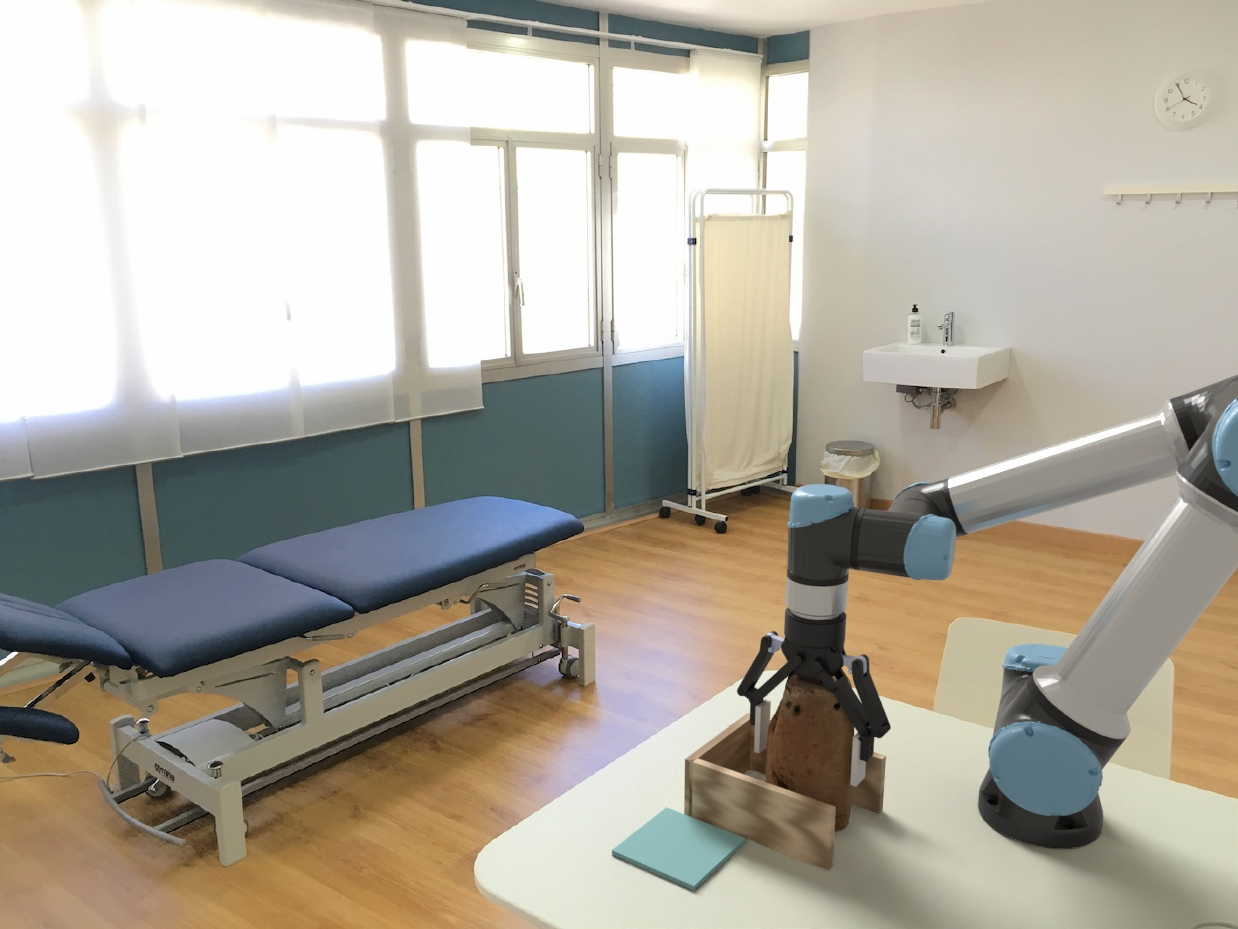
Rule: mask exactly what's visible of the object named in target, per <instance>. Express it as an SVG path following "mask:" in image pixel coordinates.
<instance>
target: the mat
mask: <svg viewBox="0 0 1238 929" xmlns="http://www.w3.org/2000/svg"><path fill="white" fill-rule="evenodd" d="M745 844H746V838H743V837H741V836H738V835H736V834H733V833H731V832H728V831H726V830H723V829H720V828H718V827H715V826H713V825H710V824H708V823H705V822H703V821H700V820H698V819H695V818H692V817H690V816H687V815H685V814H684V813H682V812H680V811H677V810H675V809H671V808H669V807H665V808H664V809H663V810H661V811H660V812H658V813H657V814H656V815H655V816H654V817H652V818H651V819H649V820H648V821H647V822H646V823H645V824H643V825H642V826H641V827H639V828H638V829H637V830H635V831H634V832H633V833H632V834H630V835H629V836H628V837H627V838H625V839H624V840H623V841H622V842H620V843H619V844H617V846H615V847H613V849H612V850H611V855H613V856H615V857H617V858H619V859H621V860H624V861H626V862H628V863H631V864H632V865H635V866H637V867H640V868H642V869H644V870H647V871H649V872H651V873H653V874H655V875H657V876H660V877H662V878H664V879H667V880H669V881H672V882H674V883H676V884H678V885H680V886H683V887H685V888H687V889H689V890H692V891H695V890H696V889H697V888H699V886H700V885H702V884H703V883H704V882H705V881H706V880H707V879H708V878H710V876H712V875H713V873H714V872H716V870H718V869H719V868H720V867H721V866H722V865H723V864H724V863H725V862H726V861H727V860H728V859H730V857H731V856H732V855H734V853H736V852H737V851H738V850H739V849H740V848H742V846H744V845H745Z"/></svg>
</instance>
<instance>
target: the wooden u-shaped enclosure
mask: <svg viewBox="0 0 1238 929" xmlns="http://www.w3.org/2000/svg"><path fill="white" fill-rule="evenodd" d="M770 722H771V719H770ZM754 740H755V726H754V725H751V723H750V712H747V713H746V714H744V715H743V716H742V717H740V718H739V719H737V720H736V721H734V723H732V724H730V725H729V726H728V727H727V728H725V729H724V730H723V731H721V732H720V733H718V734H717V735H716V736H714V737H713V738H711V739H710V740H709V741H707V742H706V743H705V744H704V745H702V746H700V748H698V749H697V750H695V751H694V752H693V753H692V754H690V755H689V756H687V757H686V758H684V796H683V797H684V798H683V799H684V804H683V805H684V806H683V809H684V810H683V814H685V815H687V816H690V817H692V818H695V819H698V820H700V821H703V822H705V823H708V824H710V825H713V826H715V827H718V828H720V829H723V830H726V831H728V832H731V833H733V834H736V835H738V836H741V837H743V838H745V840H748V841H751V842H754V843H756V844H759V845H761V846H764V847H766V848H769V849H771V850H773V851H776V852H780V853H781V854H784V855H787V856H789V857H791V858H794V859H797V860H798V861H799V860H800V861H803V862H805V863H807V864H810V865H812V866H814V867H817V868H820V869H823V870H824V871H826V872H827V871H828V872H829V871H830V870H831V869H832V868H833V867H834V853H835V852H834V850H835V833H836V832H835V812H836V807H835V806H832V805H829V804H826V803H824V802H821V801H818V800H815V799H812V798H809V797H807V796H804V795H801V794H798V793H795V792H792V791H789V790H787V789H784V788H781V787H778V786H775V785H772V784H770V783H767V782H765V780H761V779H757V778H755V777H752V776H750V775H747V774H746V773H747V772H749V771H753V772H755V773H757V774H761V775H764V776H765V767H766V748H765V749H764V750H763V751H762V752H760V753H756V752H754ZM886 762H887V755H886V754H882V753H878V752H876V751H874V752H873V756H872V758H871V759H870V760H869V761H867V762H866V768H865V778H864V779H863V780H862V781H861V782H860V783H859V784H858V785H857V786H853V803H852V807H856V808H859V809H862V810H865V811H867V812H870V813H873V814H877V815H881V813H882V812H883V811H884V793H885V781H886V780H885V779H886Z"/></svg>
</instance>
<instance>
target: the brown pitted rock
mask: <svg viewBox="0 0 1238 929" xmlns="http://www.w3.org/2000/svg"><path fill="white" fill-rule="evenodd" d="M832 678H833V679H834V681H835V680H836V678H835V676H833V677H832ZM847 678H848V676H847ZM848 683H849V684H850V686H851V688H852V689H853V686H852V683H851V679H850V678H848ZM775 710H776V711H775V713H774V714H773V715H772V717H771V718H770V720H771V722H770V724H769V727H768V734H767V748H766V767H765V775H764V776H765V778H764V779H765V780H764V782H767V783H770V784H772V785H775V786H778V787H781V788H784V789H787V790H789V791H792V792H795V793H798V794H801V795H804V796H807V797H809V798H812V799H815V800H818V801H821V802H824V803H826V804H829V805H832V806H835V807H836V812H835V832H834V833H836V832H842V831H843V830H846V829H847V827H848V826H849V823H850V819H851V814H852V809H853V808H852V807H853V805H852V803H853V785H850V781H851V764H852V747H853V736H855V727H854V726H853V724H852V723H851V721H850V719H849V718H848V716H847V715H846V713H845V712H844V710H843V708H842V707H841V705H840V704H839V702H838V701H837V699H836V697H835V696H834V694H833V693H832V692H830V691H829V690H828V689H827V687H826V686H825V684H824V683H821V684H817V683H814V682H812V681H810V680H803V679H799V678H798V676H797V675H796V674H795V673H794V672H792V673H791V674H789V676H788V677H787V678H786V682H785V686H784V690H783V693H782V698H781V699H780V702H779V704H778V706H777V708H776V709H775Z"/></svg>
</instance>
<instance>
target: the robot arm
mask: <svg viewBox="0 0 1238 929" xmlns="http://www.w3.org/2000/svg"><path fill="white" fill-rule="evenodd" d="M1174 476H1176V480H1177V484H1178V487H1179V488H1178V490H1179V491H1178V494H1177V495H1176V496H1175V498H1174V500H1173V501H1172V502H1171V504H1169V507H1168V508H1167V509H1166V511H1165V513H1164V514H1163V515H1162V517H1161V518H1160V519H1159V520H1158V522H1157V523H1156V524H1155V526H1154V527H1153V529H1152V530H1151V532H1150V533H1149V534H1148V536H1147V538H1146V539H1145V540H1144V541H1143V543H1142V544H1141V546H1140V547H1139V548H1138V550H1137V551H1136V553H1134V556H1133V557H1132V558H1131V560H1130V561H1129V562H1128V564H1127V565H1126V566H1125V568H1124V570H1123V571H1122V572H1121V574H1120V575H1119V577H1118V578H1117V579H1116V581H1115V582H1114V583H1113V585H1112V586H1111V588H1110V589H1109V591H1107V593H1106V595H1105V596H1104V598H1103V599H1102V600H1101V602H1100V603H1099V605H1098V606H1097V607H1096V609H1095V610H1094V612H1093V613H1092V614H1091V615H1090V617H1089V618H1088V620H1087V621H1086V623H1085V624H1084V625H1083V626H1082V628H1081V630H1079V632H1078V634H1077V635H1076V637H1075V638H1074V639H1073V641H1072V642H1071V644H1070V645H1069V646H1068V647H1064V646H1061V645H1053V644H1044V643H1042V644H1041V643H1025V644H1024V643H1023V644H1018V645H1014V646H1012V647H1010V648H1009V649H1007V651H1006V653H1005V656H1004V662H1003V664H1002V665H1001V666H1002V669H1003V673H1002V686H1001V692H1000V698H999V705H998V709H997V712H996V713H997V714H996V716H995V717H996V718H995V722H994V727H993V732H992V733H993V734H992V738H991V739H990V741H989V745H988V759H989V760H988V761H989V767H988V770H987V772H986V773H985V776H984V777H983V780H982V782H981V784H980V786H979V791H978V797H977V798H978V799H977V800H978V801H977V808H978V809H977V810H978V812H979V814H980V815H981V818H982V819H983V820H984V821H985V822H986V824H988V825H989V826H990V827H992V828H993V829H994V830H996V831H997V832H1000V833H1001V834H1003V835H1004V836H1006V837H1008V838H1010V839H1013V840H1015V841H1017V842H1021V843H1023V844H1026V845H1029V846H1030V845H1031V846H1036V847H1041V848H1046V849H1056V850H1068V849H1069V850H1070V849H1076V848H1077V849H1078V848H1082V847H1086V846H1088V845H1091V844H1093V843H1094V842H1095V841H1097V840H1098V838H1100V836H1101V834H1102V830H1103V821H1104V810H1103V805H1102V802H1101V799H1100V798H1101V797H1100V794H1099V791H1100V787H1101V786H1102V785H1103V784H1102V783H1103V782H1102V781H1103V778H1104V777H1103V769H1104V768H1105V767H1106V766H1107V764H1108V763H1109V761H1110V760H1111V758H1112V757H1113V756H1114V755H1115V753H1116V752H1117V750H1119V748H1120V747H1121V746H1122V744H1123V743H1124V742H1125V740H1126V739H1127V738H1128V736H1130V734H1131V731H1132V729H1131V725H1130V724H1131V723H1130V720H1129V717H1128V711H1129V710H1130V709H1131V707H1132V706H1133V705H1134V704H1135V702H1136V701H1137V699H1138V698H1139V697H1140V695H1141V694H1142V693H1143V691H1144V690H1145V689H1146V688H1147V686H1148V685H1149V684H1150V683H1151V681H1152V680H1153V678H1154V677H1155V676H1156V675H1157V673H1158V672H1159V671H1160V669H1161V668H1162V667H1163V665H1165V663H1166V661H1168V659H1169V657H1170V656H1171V655H1172V654H1173V652H1174V651H1175V650H1176V649H1177V647H1178V646H1179V645H1180V643H1181V642H1182V641H1183V639H1185V637H1186V636H1187V634H1188V633H1189V632H1190V630H1191V629H1192V628H1193V626H1194V625H1195V624H1196V623H1197V622H1198V620H1199V619H1200V617H1201V616H1202V615H1203V613H1204V612H1205V611H1206V609H1208V607H1209V606H1210V604H1211V603H1212V601H1214V599H1215V598H1216V597H1217V595H1218V594H1219V593H1220V591H1221V590H1222V588H1223V587H1224V586H1225V585H1226V584H1227V582H1228V581H1229V579H1230V578H1231V577H1232V576H1233V575H1234V573H1235V572H1236V570H1237V569H1238V374H1236V375H1232V376H1231V377H1227V378H1225V379H1223V380H1220V381H1217V382H1214V383H1212V384H1209V385H1206V386H1203V387H1201V388H1198V389H1195V390H1193V391H1189V392H1187V393H1184V394H1181V395H1179V396H1175V397H1172V398H1169V399H1166V400H1165V402H1164V403H1163V405H1162V407H1161V409H1160V410H1159V411H1158V412H1154V413H1151V414H1147V415H1144V416H1142V417H1138V418H1135V419H1132V420H1128V421H1125V422H1122V423H1119V424H1115V425H1113V426H1109V427H1106V428H1102V429H1100V430H1096V431H1093V432H1091V433H1087V434H1083V435H1081V436H1078V437H1075V438H1071V439H1068V440H1063V441H1062V442H1058V443H1055V444H1051V445H1049V446H1046V447H1041V448H1039V449H1037V450H1033V451H1030V452H1026V453H1023V454H1020V455H1017V456H1014V457H1010V458H1008V459H1003V460H1001V461H997V462H995V463H992V464H988V465H984V466H982V467H979V468H976V469H972V470H969V471H966V472H962V473H960V474H956V475H953V476H950V477H948V478H945V479H941V480H937V481H934V482H930V481H918V482H915V483H913V484H910V485H908V486H907V487H905V488H903V489H902V490H901V492H898V493H897V495H896V496H895V497H894V500H893V501H892V504H891V505H890V507H889V508H888V509H887V510H881V509H869V508H863V507H860V506H859V507H858V506H855V502H854V496H853V493H852V492H851V491H850V490H849V489H848V488H846V487H843V486H837V485H834V484H826V483H818V484H816V483H813V484H806V485H802V486H800V487H797V488H796V489H795V490H794V491H793V492H792V494H791V498H790V506H789V507H790V508H789V517H788V522H787V567H786V580H785V581H786V583H785V584H786V585H785V597H784V598H785V599H784V600H785V603H784V604H785V605H786V607H787V608H786V609H785V610H784V625H783V626H784V627H783V628H784V629H783V634H784V637H781V636H779V634H778V632H777V631H775V630H771V631H770V632H768V633H767V634H765V635H763V636H762V637H761V638H760V645H759V651H758V652H757V655H756V656H755V658H754V659H753V661H752V663H751V665H750V666H749V668H748V670H747V672H746V673H745V675H744V677H743V679H742V680H741V682H740V684H739V686H738V687H737V689H736V693H737V695H738V696H739V697H745V698H746V699H747V700H748V702H749V705H750V706H749V713H750V723H751V725H754V726H755V740H754V752H756V753H760V752H762V751H763V750H764V749H765V748H767V734H768V727H769V724H770V720H771V706H772V705H771V703H772V702H771V700H770V699H764V698H766V697H767V696H768V695H769V694H770V693H771V692H772V691H774V690H775V689H776V688H777V687H778V686H779V685H780V684H781V683H783V681H785V680H787V679H788V676H789V674H791V673H792V672H794V673H795V674H796V675H797V676H798V678H799V679H803V680H810V681H812V682H814V683H817V684H821V683H824V684H825V686H826V687H827V689H828V690H829V691H830V692H832V693H833V694H834V696H835V697H836V699H837V701H838V702H839V704H840V705H841V707H842V708H843V710H844V712H845V713H846V715H847V716H848V718H849V719H850V721H851V723H852V724H853V726H854V730H856V733H855V734H854V736H853V747H852V764H851V781H850V785H853V786H857V785H858V784H859V783H860V782H861V781H862V780H863V779H864V778H865V768H866V762H867V761H869V760H870V759H871V758H872V756H873V752H875V751H874V750H875V747H874V746H875V738H876V739H882V738H883V737H884V736H885V735H886V734H888V733H889V731H891V723H890V721H889V719H888V715H887V713H886V711H885V708H884V706H883V704H882V700H881V698H880V694H879V693H878V690H877V687H876V685H875V682H874V681H873V678H872V674H871V672H870V671H871V670H870V658H869V656H868V655H867V654H864V653H863V654H861V655H858V656H857V655H856V656H855V655H854V656H853V655H849V654H848V655H847V652H846V650H845V642H846V633H847V632H846V628H847V627H846V626H847V614H846V612H845V611H846V609H847V607H848V588H849V586H848V585H849V570H854V571H862V572H867V573H874V574H879V575H881V574H882V575H888V576H894V577H900V578H901V577H902V578H909V579H912V580H915V581H921V580H922V581H924V580H926V581H927V580H928V581H937V582H938V581H939V582H940V581H944V580H947V579H948V578H949V577H950V576H951V575H952V574H951V573H952V570H953V564H954V559H955V552H956V542H957V540H956V539H957V538H960V537H962V536H963V537H964V536H966V535H969V534H973V533H976V532H979V531H982V530H986V529H990V528H994V527H997V526H1000V525H1004V524H1007V523H1012V522H1014V521H1018V520H1022V519H1026V518H1029V517H1032V516H1036V515H1040V514H1042V513H1047V512H1050V511H1054V510H1058V509H1060V508H1064V507H1067V506H1071V505H1072V506H1073V505H1074V504H1078V503H1081V502H1086V501H1088V500H1089V501H1090V500H1092V499H1093V500H1094V499H1096V498H1100V497H1103V496H1107V495H1109V494H1110V495H1111V494H1114V493H1117V492H1120V491H1124V490H1128V489H1132V488H1135V487H1138V486H1141V485H1145V484H1149V483H1150V484H1151V483H1152V482H1157V481H1159V480H1164V479H1167V478H1170V477H1174ZM780 649H781V652H782V655H784V658H785V660H786V663H785V664H784V665H782V666H781V667H780V668H779V669H778V670H777V671H776V672H775V673H774V674H772V676H771V677H770V678H769V679H767V680H766V681H765V682H764V683H763V684H762V685H760V686H759V687H758V688H757V687H756V684H757V683H758V681H759V680H760V678H761V676H762V675H763V673H764V671H765V670H766V668H767V666H768V665H769V663H770V662H771V659H772V658H773V656H774V655H775V653H777V652H778V651H779V650H780ZM844 666H845V667H846V668H847V669H848V674H850V675H852V676H851V677H852V682H853V685H854V687H855V689H856V692H855V690H854V689H853V687H852V688H851V686H852V685H851V686H850V684H849V683H848V678H847V677H848V676H847V674H846V673H845V671H844V669H843V667H844ZM833 676H835V678H836V680H835V681H834V679H833V678H832V677H833ZM856 693H857V694H858V695H857V694H856Z"/></svg>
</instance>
